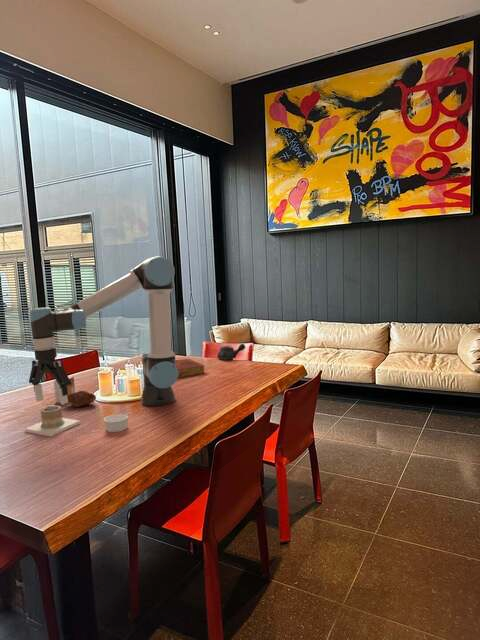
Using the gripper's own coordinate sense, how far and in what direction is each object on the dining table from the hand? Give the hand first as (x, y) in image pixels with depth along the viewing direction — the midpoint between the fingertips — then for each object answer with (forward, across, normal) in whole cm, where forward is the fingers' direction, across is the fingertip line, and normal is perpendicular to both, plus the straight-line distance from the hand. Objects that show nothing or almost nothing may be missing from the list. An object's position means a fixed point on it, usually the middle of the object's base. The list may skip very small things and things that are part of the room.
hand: (52, 402), depth 166 cm
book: (+12, +4, -86) cm, 87 cm away
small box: (+11, +24, -27) cm, 38 cm away
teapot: (+13, -12, -129) cm, 130 cm away
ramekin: (+11, -24, -7) cm, 28 cm away
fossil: (+11, +10, -23) cm, 28 cm away
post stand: (+10, 0, +1) cm, 10 cm away
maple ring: (+9, 0, +1) cm, 9 cm away
